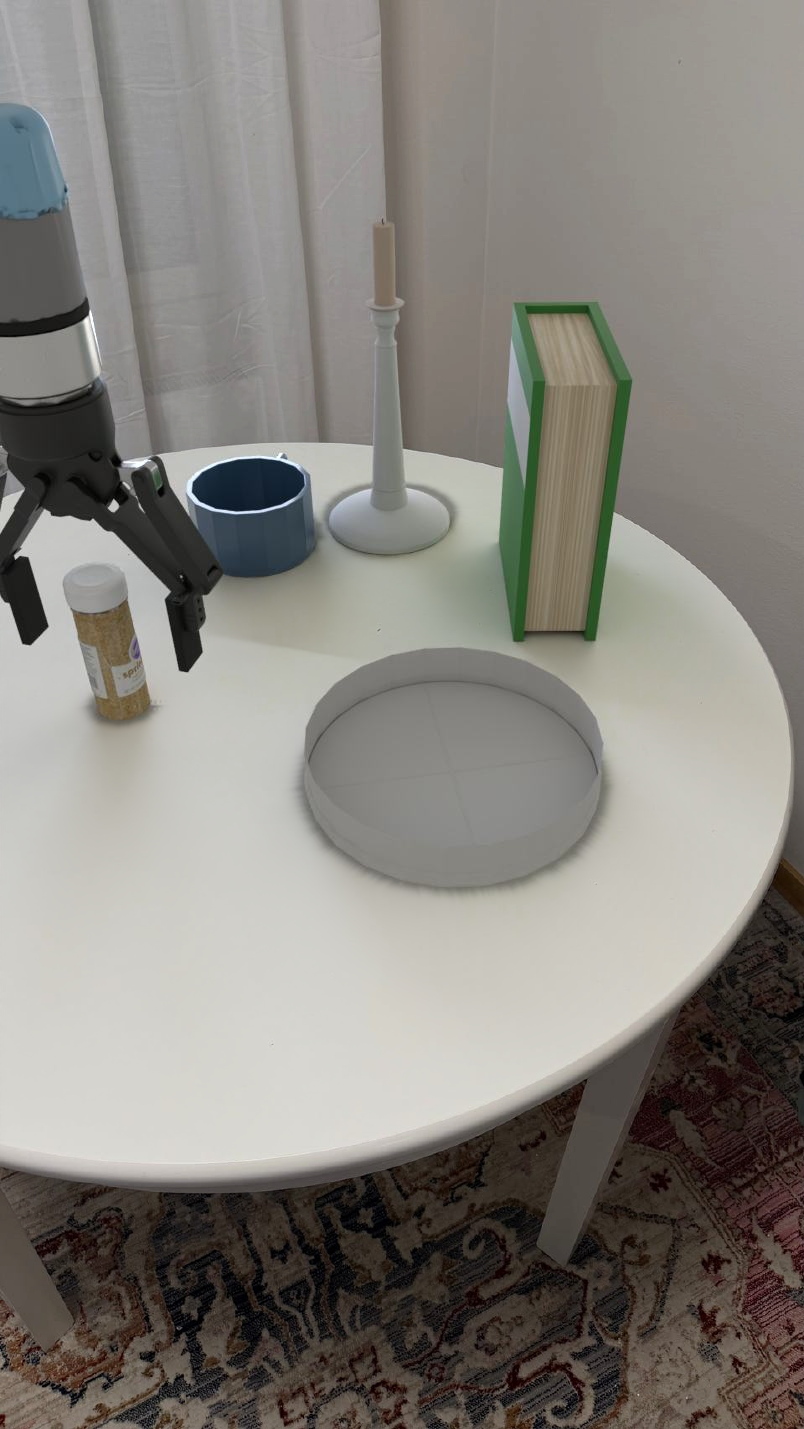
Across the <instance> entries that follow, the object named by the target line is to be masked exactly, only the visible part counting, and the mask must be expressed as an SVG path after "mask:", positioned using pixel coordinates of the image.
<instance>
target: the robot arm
mask: <svg viewBox="0 0 804 1429" xmlns="http://www.w3.org/2000/svg"><path fill="white" fill-rule="evenodd" d="M69 196H70V195H69V185H68V182H67V181H66V180H65V179H64V175H63V170H62V167H61V163H60V160H59V157H58V153H57V149H56V145H55V141H54V137H53V134H52V131H51V128H50V124H49V123H48V122H47V119H45V117H44V116H43V115H42V114H41V113H40V112H39V111H38V110H36V109H34V108H33V107H30V106H28V105H24V104H20V103H14V102H0V511H1V510H2V504H3V499H4V493H5V488H6V484H7V480H8V472H10V473H11V474H12V475H13V477H15V479H16V480H17V481H18V482H19V483H20V484H21V486H22V487H23V488H24V489H23V492H22V493H21V495H20V497H19V498H18V500H17V501H16V503H15V505H14V506H13V512H12V513H11V515H10V516H9V518H8V520H7V522H6V524H5V525H4V526H3V528H2V530H1V532H0V598H1V599H2V600H3V602H4V603H6V604H8V605H9V608H10V611H11V614H12V616H13V620H14V623H15V625H16V629H17V632H18V635H19V638H20V642H21V644H22V645H24V646H30V647H31V646H32V645H33V644H34V643H35V642H36V641H37V640H38V639H39V638H40V637H41V636H42V634H44V633H45V632H46V631H47V629H48V628H50V626H49V622H48V618H47V615H46V611H45V608H44V605H43V602H42V599H41V595H40V591H39V588H38V584H37V582H36V578H35V574H34V570H33V567H32V564H31V561H30V557H29V556H24V555H19V556H18V557H17V558H16V557H15V555H17V554H18V553H19V552H20V551H21V550H22V549H23V548H22V546H23V544H24V543H25V541H26V539H27V538H28V536H29V534H30V533H31V531H32V530H33V528H34V527H35V525H36V523H37V522H38V520H39V519H40V517H41V516H42V514H43V512H44V511H47V512H49V514H50V516H51V517H57V518H63V517H72V518H75V519H77V520H80V521H86V522H91V521H92V520H94V521H95V522H96V523H97V524H98V525H99V526H100V527H101V528H102V530H104V532H110V533H113V534H114V535H115V536H116V537H117V538H118V539H119V540H120V541H121V542H122V543H123V544H124V545H125V546H126V547H127V548H128V549H129V550H130V551H131V552H132V553H133V554H134V555H135V556H136V557H137V558H138V559H139V561H140V562H142V564H143V565H144V566H145V567H146V568H147V569H148V570H149V571H150V572H151V573H152V574H153V575H154V576H155V577H156V578H157V579H158V581H160V582H161V583H162V584H163V586H165V587H166V589H167V590H169V591H170V592H169V593H168V594H167V596H166V597H164V603H165V604H164V605H165V608H166V614H167V618H168V623H169V629H170V633H171V639H172V643H173V649H174V653H175V658H176V663H177V668H178V669H177V670H178V672H182V673H189V672H190V671H191V669H192V668H193V666H194V665H195V664H196V662H197V661H198V660H199V658H201V656H202V654H203V653H204V650H203V649H204V648H203V644H202V638H201V633H200V630H201V628H202V627H203V626H204V624H205V623H206V620H207V614H206V609H205V602H204V597H205V596H209V595H210V593H211V592H212V591H213V589H214V588H216V586H217V584H219V582H220V581H221V580H222V578H223V577H224V575H225V574H224V570H223V568H222V567H221V565H220V563H219V562H218V560H217V559H216V557H215V556H214V554H213V553H212V551H211V549H210V548H209V546H208V545H207V543H206V542H205V540H204V538H203V537H202V535H201V534H200V532H199V531H198V529H197V527H196V526H195V524H194V523H193V521H192V520H191V518H190V516H189V512H188V511H187V510H186V509H185V506H184V505H183V504H182V502H181V501H180V499H179V498H178V496H177V494H176V493H175V491H174V490H173V488H172V487H171V484H170V481H169V477H168V473H167V470H166V467H165V464H164V461H163V460H162V459H161V457H160V456H158V455H156V454H151V455H149V456H148V457H147V458H146V459H144V461H124V459H123V458H122V457H121V454H120V453H119V452H118V449H117V447H116V422H115V418H114V414H113V409H112V403H111V400H110V399H111V398H110V395H109V390H108V385H107V382H106V381H105V379H103V378H102V377H101V374H102V372H103V364H102V359H101V353H100V348H99V344H98V339H97V336H96V330H95V325H94V321H93V320H94V319H93V316H92V311H91V306H90V301H89V298H88V292H87V287H86V281H85V276H84V272H83V267H82V262H81V256H80V253H79V246H78V241H77V237H76V236H77V235H76V232H75V228H74V227H75V226H74V222H73V218H72V212H71V207H70V202H69V200H70V198H69ZM125 484H127V485H128V486H129V488H130V489H129V488H128V487H127V486H126V485H125ZM114 501H115V502H116V503H117V505H118V508H117V509H116V510H115V511H112V510H110V509H109V508H110V507H111V505H112V503H113V502H114ZM203 596H204V597H203Z"/></svg>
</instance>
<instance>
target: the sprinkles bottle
mask: <svg viewBox="0 0 804 1429" xmlns="http://www.w3.org/2000/svg"><path fill="white" fill-rule="evenodd" d="M127 582H128V581H127V578H126V574H125V572H124V570H123V569H122V568H121V567H120V566H119V565H117V564H115V563H112V562H106V561H92V562H87V563H83V564H81V565H78V566H75V567H74V568H72V569H70V570H69V571H68V572H66V574H65V575H64V577H63V579H62V587H63V593H64V597H65V602H66V604H67V606H68V607H69V609H70V611H71V613H72V618H73V621H74V625H75V628H76V633H77V640H78V643H79V647H80V651H81V655H82V658H83V663H84V665H85V670H86V674H87V677H88V681H89V684H90V688H91V691H92V692H93V694H94V698H95V702H96V707H97V710H98V713H99V714H100V715H101V716H102V717H104V718H106V719H109V720H114V721H123V720H128V719H132V718H135V717H138V716H139V715H141V714H143V712H145V711H146V710H147V709H148V707H149V706H150V703H151V697H150V693H149V688H148V684H147V679H146V678H147V677H146V676H147V675H146V671H145V666H144V662H143V657H142V653H141V648H140V644H139V639H138V635H137V633H136V630H135V629H136V628H135V627H134V621H133V617H132V612H131V608H130V603H129V600H128V599H129V587H128V583H127Z"/></svg>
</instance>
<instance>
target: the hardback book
mask: <svg viewBox="0 0 804 1429" xmlns="http://www.w3.org/2000/svg"><path fill="white" fill-rule="evenodd" d="M509 350H510V351H509V364H508V365H509V366H508V367H509V368H508V370H509V371H508V382H507V384H508V385H507V399H506V400H507V401H506V417H505V418H506V419H505V433H504V436H505V437H504V449H503V467H502V481H501V482H502V483H501V485H502V486H501V497H500V498H501V500H500V516H499V532H498V545H499V551H500V558H501V565H502V572H503V579H504V585H505V593H506V600H507V607H508V615H509V622H510V628H511V633H512V634H511V635H512V641H513V642H524V641H525V632H568V631H570V632H573V631H575V632H576V631H577V632H578V631H579V632H580V631H581V632H582V633H583V637H584V641H585V642H595V641H596V640H597V634H598V626H599V619H600V612H601V604H602V598H603V590H604V585H605V584H604V583H605V576H606V569H607V562H608V556H609V550H610V549H609V547H610V542H611V536H612V535H611V534H612V528H613V521H614V514H615V506H616V498H617V492H618V485H619V478H620V471H621V463H622V455H623V448H624V442H625V436H626V428H627V420H628V415H629V413H628V412H629V408H630V407H629V406H630V400H631V393H632V386H633V385H632V384H633V378H632V376H631V374H630V371H629V370H628V367H627V365H626V363H625V360H624V358H623V355H622V354H621V350H620V349H619V347H618V344H617V341H616V340H615V338H614V335H613V334H612V331H611V328H610V327H609V324H608V322H607V320H606V318H605V315H604V313H603V310H602V309H601V307H600V304H599V302H598V301H545V302H544V301H541V302H540V301H537V302H535V301H533V302H532V301H531V302H529V301H527V302H525V301H524V302H513V303H512V317H511V334H510V348H509Z"/></svg>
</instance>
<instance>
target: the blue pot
mask: <svg viewBox="0 0 804 1429" xmlns="http://www.w3.org/2000/svg"><path fill="white" fill-rule="evenodd" d="M312 493H313V492H312V482H311V474H310V473H309V472H308V471H307V470H306V469H304V467H302V465H301V464H298V463H296V462H293V461H291V460H289V459H288V456H287V455H286V454H285V453H283V452H280V453H278V454H276V456H275V457H274V456H267V455H266V456H265V455H249V456H237V457H236V456H235V457H233V458H232V457H231V458H228V459H224V460H220V461H215V462H213V463H211V464H209V465H207V466H205V467H203V468H201V469H199V470H197V471H196V472H195V473H194V474H193V475H192V476H191V477H190V479H188V480H187V482H186V489H185V497H186V503H187V508H188V509H187V510H188V515H189V516H190V518H191V520H192V521H193V523H194V524H195V526H196V527H197V529H198V531H199V532H200V534H201V535H202V537H203V538H204V540H205V542H206V543H207V545H208V546H209V548H210V549H211V551H212V553H213V554H214V556H215V557H216V559H217V560H218V562H219V563H220V565H221V567H222V568H223V570H224V575H226V576H229V577H230V576H231V577H237V578H238V577H239V578H257V577H259V578H260V577H266V576H272V575H277V574H280V573H283V572H286V571H288V570H291V569H293V568H296V567H298V566H299V565H301V564H302V563H304V562H305V561H306V560H307V559H308V558H309V557H310V556H311V555H312V553H313V551H314V550H315V546H316V535H315V534H316V532H315V522H314V521H315V520H314V507H313V494H312Z"/></svg>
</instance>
